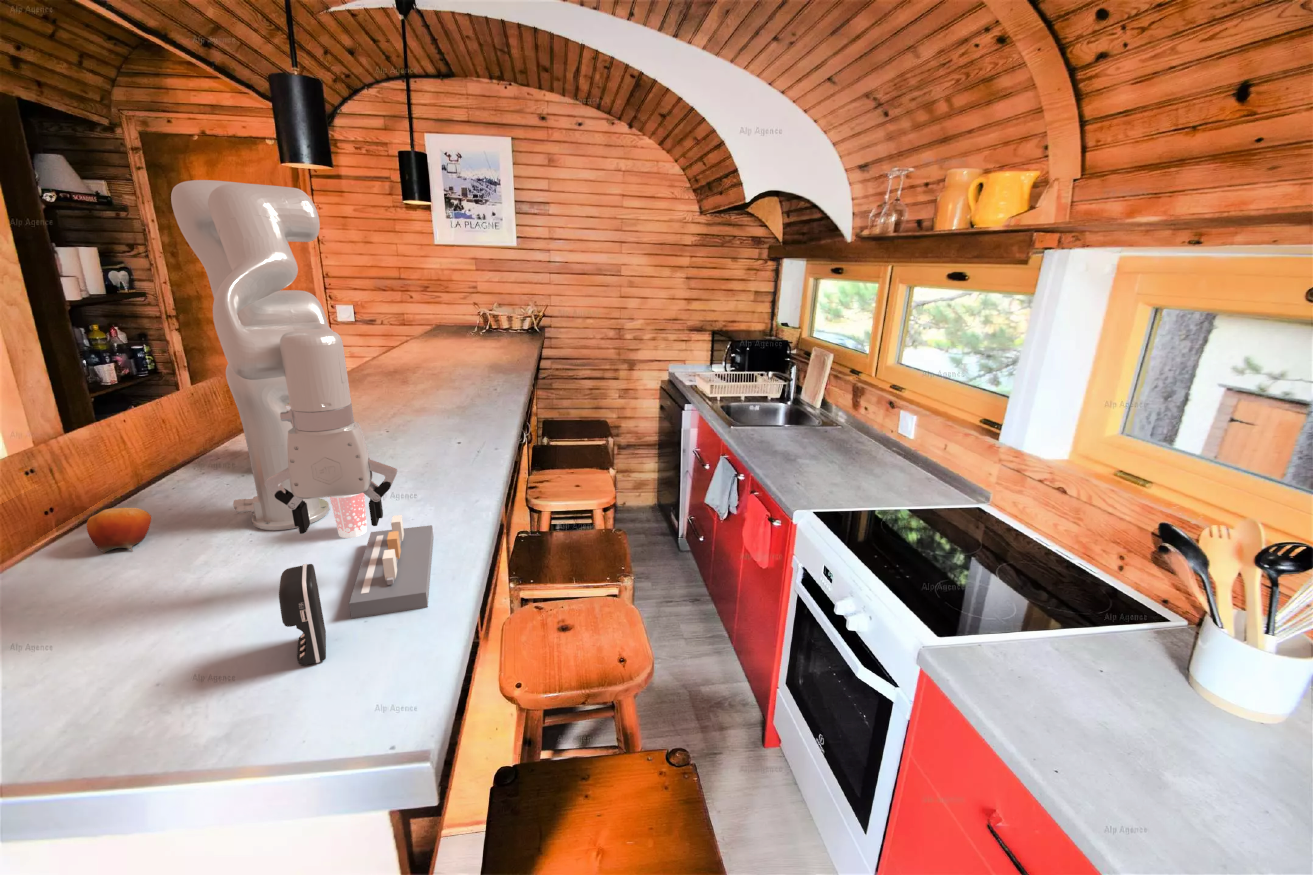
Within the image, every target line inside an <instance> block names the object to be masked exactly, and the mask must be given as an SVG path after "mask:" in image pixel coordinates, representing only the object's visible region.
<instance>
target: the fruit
mask: <svg viewBox="0 0 1313 875" xmlns="http://www.w3.org/2000/svg"><path fill="white" fill-rule="evenodd" d="M86 521H87V522H86V532H87V534H88V537H89V539H90V541H91V542H92V544H93V545H94V546H95V547H96V548H97V549H98V550H99V551H101V552H102V553H103V554H105V553H107V552H109V551H112V550H115V549H128V550H130V552H134V551H133V547H134V546H135V545H137V544H140V543H142V542H143V540H144V539H145V538H146V536H147V534H148V532H149V530H150V527H151V522H152V515H151V514H150V513H149V512H148V511H146V510H144V509H141V508H138V507H114V508H113V507H111V508H106V509H103V510H101V511H99V512H98V513H97V514H94V515H92V516H89V518H88V519H87V520H86Z"/></svg>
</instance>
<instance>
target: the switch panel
mask: <svg viewBox="0 0 1313 875" xmlns="http://www.w3.org/2000/svg"><path fill="white" fill-rule="evenodd" d="M403 529H404V537H403V541H401V546H400V548H401V553H400V558H399V559H398V562H397V574H396V579H394V583H393V584H391V585H387V580H385V575H384V567H383V560H382V558H383V554H384V550H388V544H387V538H388V533H389V532H392V529H386V530H377V531H370V533H369V537H368V541H367V544H366V546H365V551H364V554H363V558H362V560H361V563H360V566H359V570H358V573H357V576H356V580H355V583H354V587H353V590H352V593H351V597H350V600H349V603H348V605H349V610H350V615H351V619H358V618H364V617H370V616H378V615H384V614H390V613H397V612H404V611H410V610H416V609H417V610H418V609H424V608H428V607H429V606H428V605H429V597H430V596H429V594H430V586H431V582H430V581H431V570H432V561H433V548H434V531H433V530H434V527H433V525H423V526H422V525H420V526H413V527H403Z"/></svg>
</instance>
